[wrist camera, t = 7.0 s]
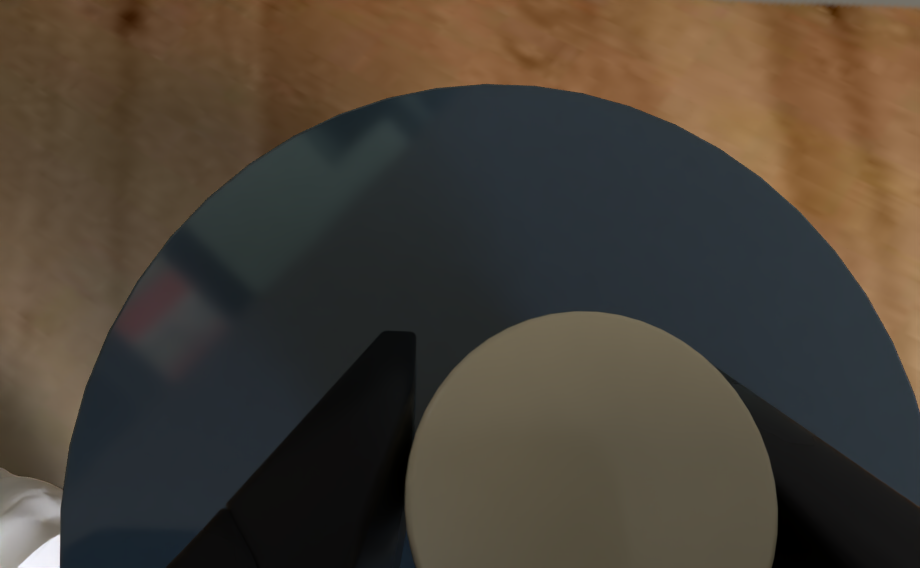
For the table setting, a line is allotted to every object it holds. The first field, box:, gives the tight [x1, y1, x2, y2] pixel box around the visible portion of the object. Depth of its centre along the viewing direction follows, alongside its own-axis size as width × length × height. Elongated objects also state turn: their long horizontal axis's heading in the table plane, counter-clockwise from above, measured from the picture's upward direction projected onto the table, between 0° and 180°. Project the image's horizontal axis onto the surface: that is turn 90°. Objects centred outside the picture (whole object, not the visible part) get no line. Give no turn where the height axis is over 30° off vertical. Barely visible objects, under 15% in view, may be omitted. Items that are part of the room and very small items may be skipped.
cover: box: [60, 84, 920, 568], centre depth 10 cm, size 12×12×10 cm
